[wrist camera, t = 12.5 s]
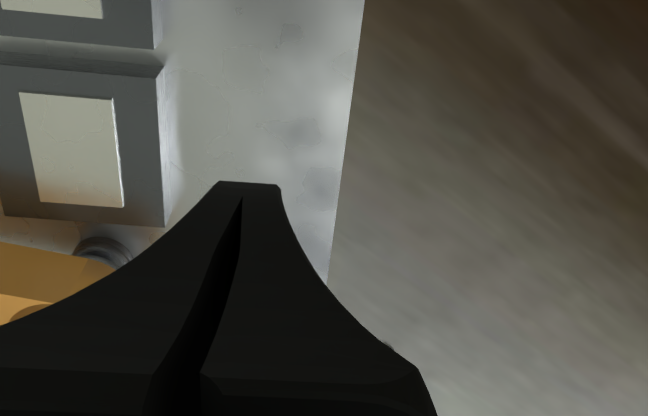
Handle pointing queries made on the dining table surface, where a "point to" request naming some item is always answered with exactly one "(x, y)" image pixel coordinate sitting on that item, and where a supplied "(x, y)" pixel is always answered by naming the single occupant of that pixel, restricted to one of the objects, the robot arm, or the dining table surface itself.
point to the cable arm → (41, 278)
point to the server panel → (169, 116)
